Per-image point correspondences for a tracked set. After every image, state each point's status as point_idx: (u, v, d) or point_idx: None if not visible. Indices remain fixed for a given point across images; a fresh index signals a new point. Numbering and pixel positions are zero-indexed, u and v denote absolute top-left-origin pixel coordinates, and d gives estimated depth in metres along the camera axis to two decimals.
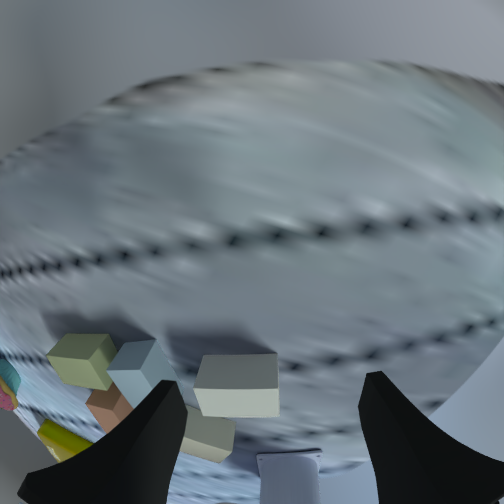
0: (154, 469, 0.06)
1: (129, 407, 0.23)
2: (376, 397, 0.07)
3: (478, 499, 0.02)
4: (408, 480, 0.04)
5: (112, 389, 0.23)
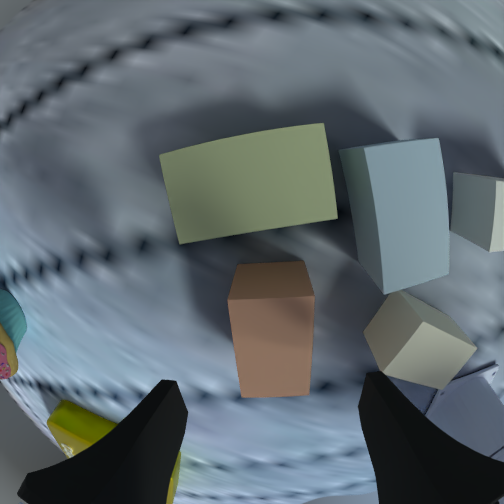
0: (154, 469, 0.06)
1: None
2: (376, 397, 0.07)
3: (478, 499, 0.02)
4: (408, 480, 0.04)
5: (279, 270, 0.13)
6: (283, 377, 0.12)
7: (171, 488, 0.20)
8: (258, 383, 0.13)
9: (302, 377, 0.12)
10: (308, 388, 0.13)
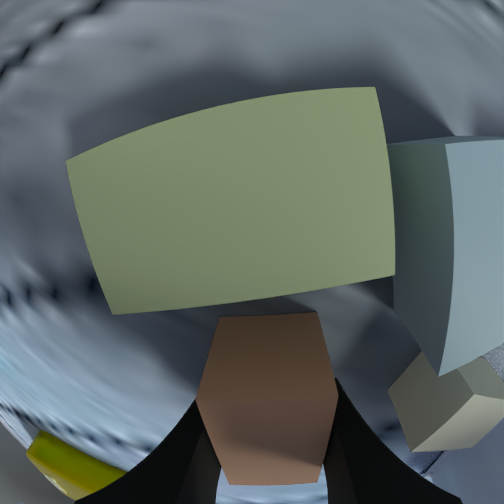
0: (206, 477, 0.06)
1: None
2: None
3: None
4: (344, 496, 0.04)
5: (281, 335, 0.08)
6: (284, 472, 0.07)
7: None
8: (250, 476, 0.08)
9: (309, 471, 0.07)
10: (316, 477, 0.08)
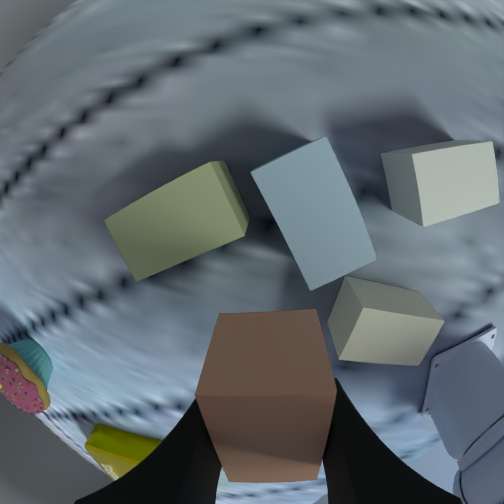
0: (206, 477, 0.06)
1: None
2: None
3: None
4: (344, 496, 0.04)
5: (280, 331, 0.09)
6: (283, 468, 0.07)
7: None
8: (250, 473, 0.08)
9: (309, 467, 0.07)
10: (316, 475, 0.08)
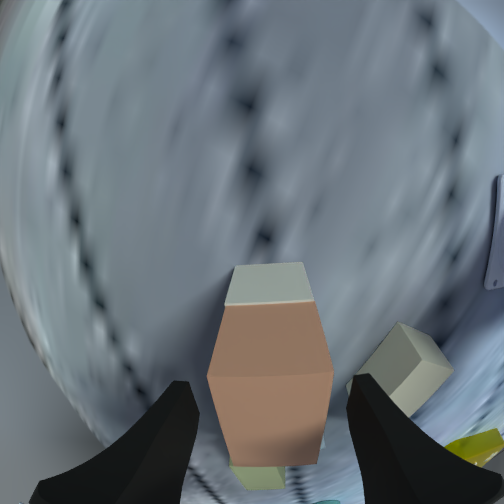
0: (168, 472, 0.06)
1: None
2: (362, 400, 0.08)
3: None
4: (391, 485, 0.04)
5: (282, 320, 0.10)
6: (285, 451, 0.08)
7: (477, 455, 0.18)
8: (254, 456, 0.09)
9: (309, 450, 0.08)
10: (316, 458, 0.09)
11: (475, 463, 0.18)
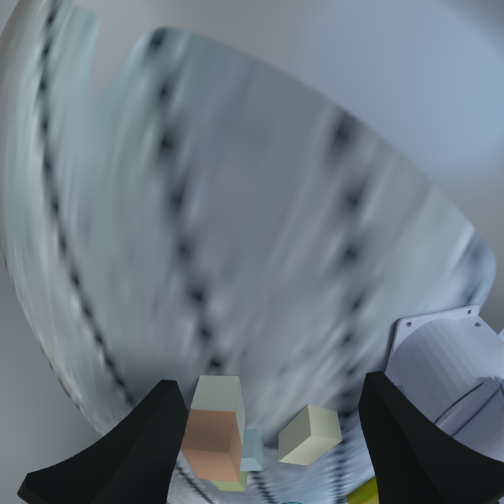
0: (154, 469, 0.06)
1: (236, 440, 0.18)
2: (376, 397, 0.07)
3: (478, 499, 0.02)
4: (408, 480, 0.04)
5: (215, 422, 0.18)
6: (220, 475, 0.16)
7: None
8: (206, 475, 0.17)
9: (231, 476, 0.16)
10: (237, 479, 0.17)
11: None
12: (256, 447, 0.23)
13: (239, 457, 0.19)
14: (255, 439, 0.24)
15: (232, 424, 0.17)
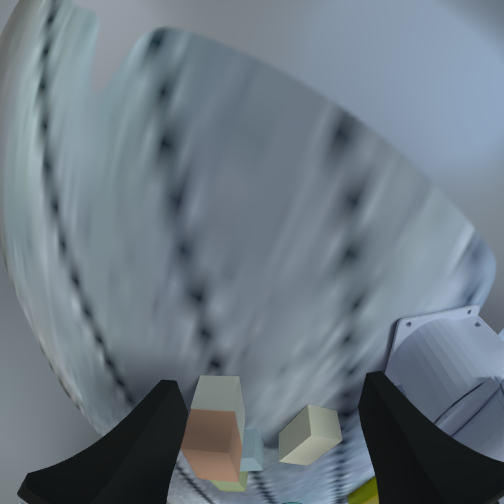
0: (154, 469, 0.06)
1: (236, 440, 0.18)
2: (376, 397, 0.07)
3: (478, 499, 0.02)
4: (408, 480, 0.04)
5: (215, 422, 0.18)
6: (220, 475, 0.16)
7: None
8: (206, 475, 0.17)
9: (231, 476, 0.16)
10: (237, 479, 0.17)
11: None
12: (256, 447, 0.23)
13: (239, 457, 0.19)
14: (255, 439, 0.24)
15: (232, 424, 0.17)
